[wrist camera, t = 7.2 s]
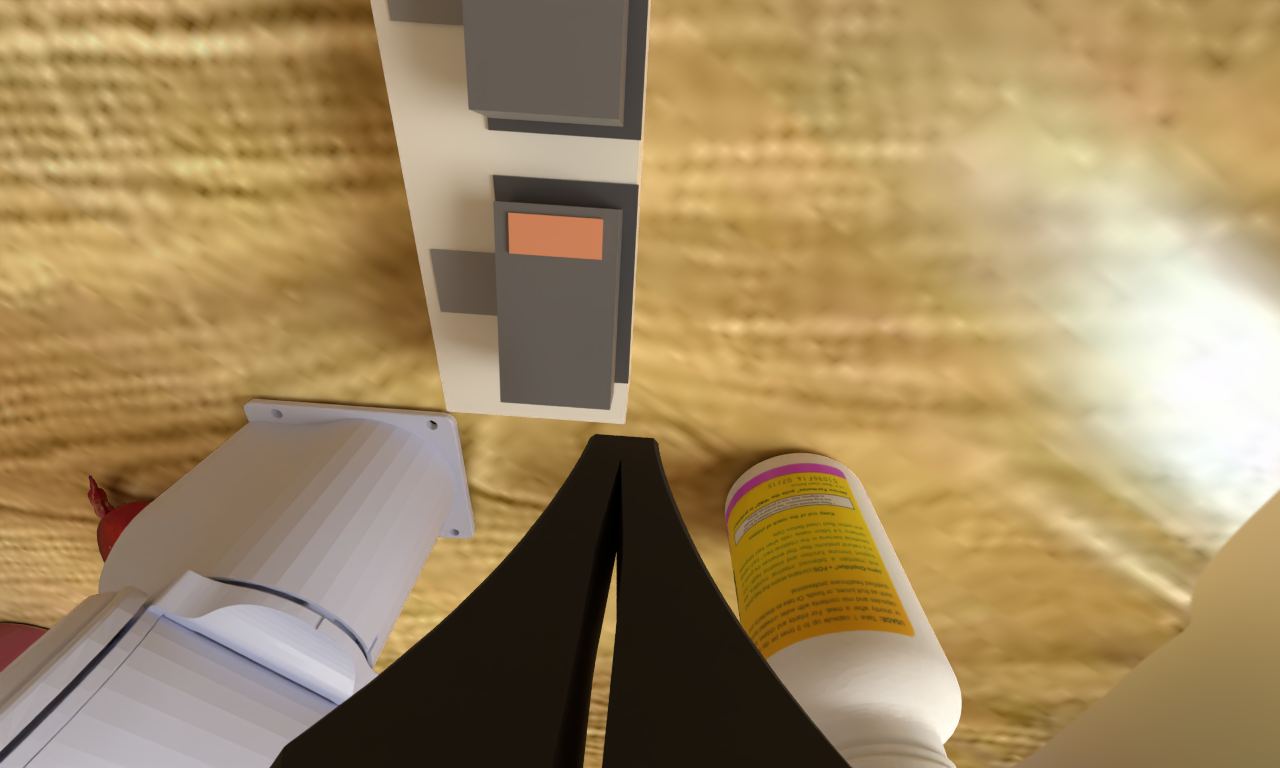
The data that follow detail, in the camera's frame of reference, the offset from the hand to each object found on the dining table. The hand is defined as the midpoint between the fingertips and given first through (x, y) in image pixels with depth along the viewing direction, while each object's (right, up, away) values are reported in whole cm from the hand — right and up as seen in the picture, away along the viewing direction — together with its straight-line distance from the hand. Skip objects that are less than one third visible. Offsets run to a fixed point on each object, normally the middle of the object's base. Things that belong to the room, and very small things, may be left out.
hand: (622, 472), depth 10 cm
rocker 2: (-2, +4, +3) cm, 6 cm away
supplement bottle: (+8, -4, +14) cm, 16 cm away
